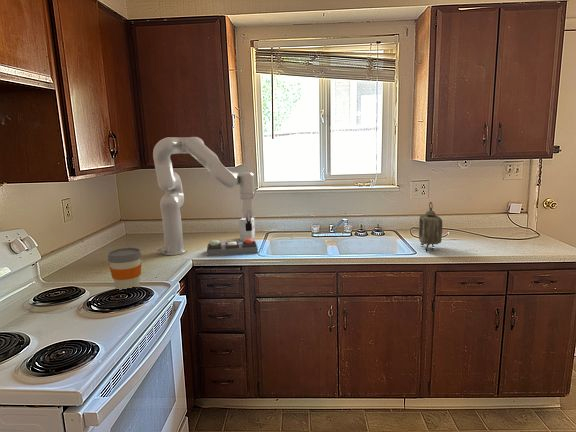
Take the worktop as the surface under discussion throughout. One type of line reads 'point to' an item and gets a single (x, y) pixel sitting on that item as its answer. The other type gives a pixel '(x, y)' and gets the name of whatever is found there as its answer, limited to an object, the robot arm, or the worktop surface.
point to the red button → (249, 241)
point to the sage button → (214, 243)
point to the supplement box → (243, 232)
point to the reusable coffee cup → (125, 267)
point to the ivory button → (232, 243)
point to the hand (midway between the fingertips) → (248, 230)
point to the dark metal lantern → (430, 228)
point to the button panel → (232, 249)
